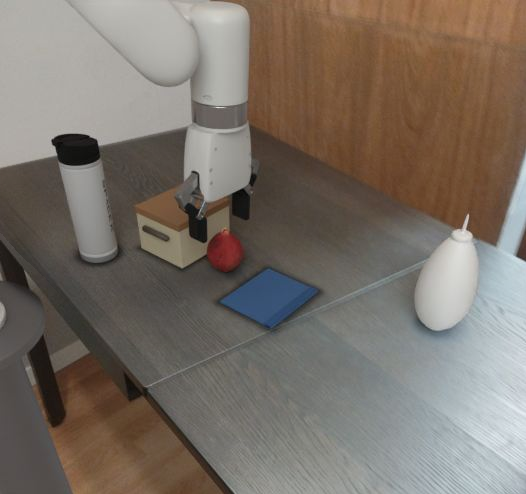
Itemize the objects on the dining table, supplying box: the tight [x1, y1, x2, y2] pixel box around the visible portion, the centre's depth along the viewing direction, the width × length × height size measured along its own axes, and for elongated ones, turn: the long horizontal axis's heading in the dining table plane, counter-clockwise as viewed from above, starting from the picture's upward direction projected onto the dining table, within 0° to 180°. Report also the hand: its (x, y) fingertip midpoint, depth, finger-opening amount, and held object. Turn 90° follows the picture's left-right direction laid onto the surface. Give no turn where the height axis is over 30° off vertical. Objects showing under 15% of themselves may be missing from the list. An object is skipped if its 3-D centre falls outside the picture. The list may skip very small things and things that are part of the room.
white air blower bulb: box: [413, 213, 480, 332], centre depth 73 cm, size 8×8×18 cm
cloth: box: [219, 267, 319, 330], centre depth 83 cm, size 12×10×1 cm
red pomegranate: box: [206, 227, 244, 273], centre depth 85 cm, size 6×6×8 cm
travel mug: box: [50, 133, 119, 264], centre depth 85 cm, size 6×7×20 cm
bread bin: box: [134, 183, 231, 269], centre depth 91 cm, size 13×10×8 cm
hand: (220, 228), depth 83 cm, fingers open, 9 cm apart
